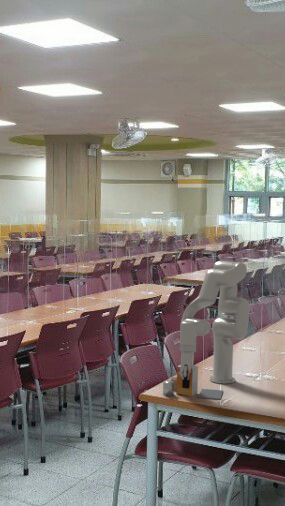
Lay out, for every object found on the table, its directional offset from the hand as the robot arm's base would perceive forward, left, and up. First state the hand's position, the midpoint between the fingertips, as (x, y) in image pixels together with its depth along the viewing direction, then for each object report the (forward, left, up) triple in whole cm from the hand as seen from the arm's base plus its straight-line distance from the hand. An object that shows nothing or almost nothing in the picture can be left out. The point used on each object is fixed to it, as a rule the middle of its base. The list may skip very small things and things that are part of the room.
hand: (187, 385), depth 300 cm
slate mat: (-1, +11, -4) cm, 12 cm away
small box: (0, 0, -4) cm, 4 cm away
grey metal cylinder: (+4, -8, -4) cm, 10 cm away
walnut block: (-7, -6, -4) cm, 10 cm away
